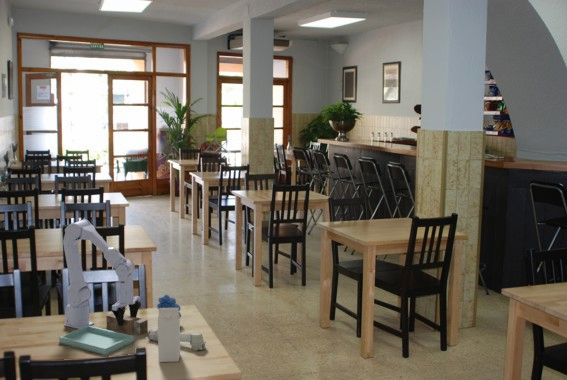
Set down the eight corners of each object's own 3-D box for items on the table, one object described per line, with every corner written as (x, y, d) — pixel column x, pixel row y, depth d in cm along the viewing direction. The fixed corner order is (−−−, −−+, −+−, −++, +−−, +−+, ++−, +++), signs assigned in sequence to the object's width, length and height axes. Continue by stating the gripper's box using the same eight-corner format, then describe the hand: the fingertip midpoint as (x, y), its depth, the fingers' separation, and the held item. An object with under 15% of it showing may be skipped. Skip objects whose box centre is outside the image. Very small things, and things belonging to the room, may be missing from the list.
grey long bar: (154, 327, 252) (207, 329, 241) (156, 344, 253) (209, 346, 242) (145, 331, 248) (199, 333, 237) (148, 348, 248) (201, 351, 237)
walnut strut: (106, 327, 263) (106, 315, 262) (114, 323, 267) (114, 312, 266) (140, 335, 254) (139, 322, 254) (147, 331, 258) (147, 319, 258)
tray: (59, 343, 245) (59, 337, 245) (88, 331, 258) (88, 325, 258) (105, 355, 234) (105, 348, 233) (133, 342, 247) (133, 336, 246)
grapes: (151, 323, 267) (151, 296, 266) (161, 318, 274) (160, 291, 272) (174, 327, 263) (174, 299, 261) (183, 322, 269) (183, 295, 267)
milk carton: (160, 354, 235) (159, 305, 232) (180, 354, 235) (179, 304, 233) (158, 362, 228) (157, 311, 225) (178, 362, 228) (177, 311, 226)
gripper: (121, 296, 250) (122, 329, 252) (145, 287, 263) (146, 318, 265) (107, 293, 254) (108, 326, 255) (132, 285, 266) (133, 316, 268)
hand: (126, 322), depth 260 cm, fingers open, 7 cm apart
